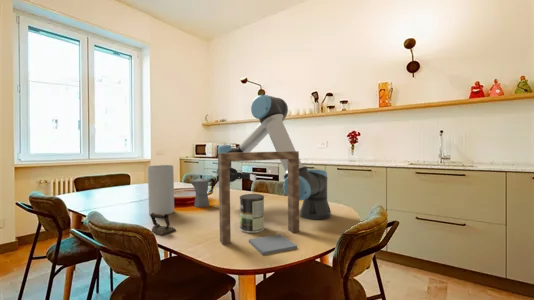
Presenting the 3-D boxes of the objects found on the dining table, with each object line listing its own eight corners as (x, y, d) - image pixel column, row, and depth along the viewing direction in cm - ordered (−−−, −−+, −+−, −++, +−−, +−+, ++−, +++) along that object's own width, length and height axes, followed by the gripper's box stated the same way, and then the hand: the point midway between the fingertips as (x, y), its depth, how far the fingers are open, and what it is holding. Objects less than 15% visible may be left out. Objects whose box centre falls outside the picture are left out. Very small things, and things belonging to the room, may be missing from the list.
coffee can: (240, 233, 109) (239, 199, 108) (240, 225, 119) (239, 194, 119) (265, 232, 110) (264, 198, 109) (263, 224, 120) (263, 193, 119)
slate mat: (280, 236, 104) (280, 234, 104) (297, 248, 93) (297, 245, 93) (248, 241, 99) (248, 239, 99) (262, 255, 87) (262, 252, 87)
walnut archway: (294, 229, 113) (293, 151, 113) (299, 232, 110) (298, 151, 109) (219, 241, 100) (218, 153, 100) (222, 244, 97) (221, 153, 96)
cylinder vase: (168, 208, 151) (167, 164, 151) (178, 213, 142) (177, 166, 142) (145, 213, 143) (144, 166, 142) (154, 217, 134) (153, 167, 133)
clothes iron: (163, 237, 106) (157, 213, 106) (146, 239, 112) (140, 216, 112) (177, 231, 112) (171, 208, 112) (160, 233, 118) (154, 211, 118)
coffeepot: (193, 208, 151) (193, 176, 151) (188, 205, 159) (187, 175, 158) (218, 204, 160) (218, 174, 160) (212, 202, 168) (211, 173, 167)
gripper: (251, 179, 150) (266, 185, 130) (206, 182, 140) (215, 189, 120) (251, 166, 149) (266, 170, 130) (206, 168, 139) (215, 172, 120)
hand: (241, 179), depth 125 cm, fingers open, 13 cm apart
